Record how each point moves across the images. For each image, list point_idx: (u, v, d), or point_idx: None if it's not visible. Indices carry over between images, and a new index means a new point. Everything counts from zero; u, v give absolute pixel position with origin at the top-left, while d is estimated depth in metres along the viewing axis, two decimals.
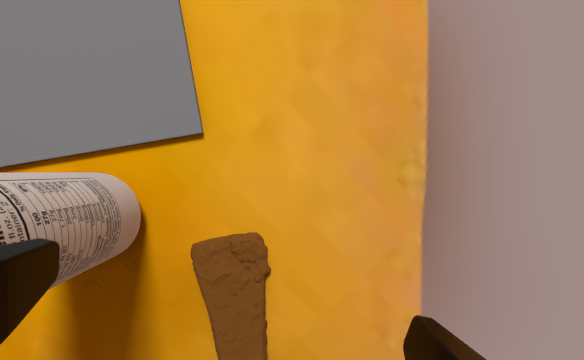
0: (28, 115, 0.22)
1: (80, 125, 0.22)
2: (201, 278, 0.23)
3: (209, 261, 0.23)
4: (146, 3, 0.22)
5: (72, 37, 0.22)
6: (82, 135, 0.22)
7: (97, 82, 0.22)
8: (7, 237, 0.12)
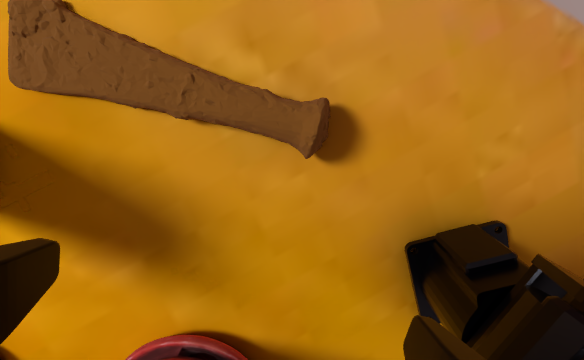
0: None
1: None
2: (44, 85, 0.19)
3: (28, 68, 0.19)
4: None
5: None
6: None
7: None
8: None
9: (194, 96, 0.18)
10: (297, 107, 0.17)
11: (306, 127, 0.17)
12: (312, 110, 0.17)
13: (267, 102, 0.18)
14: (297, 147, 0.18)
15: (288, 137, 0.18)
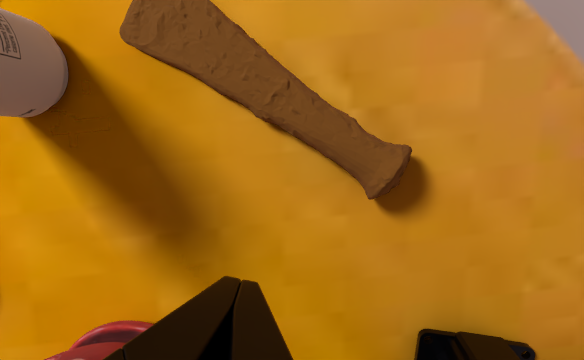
0: None
1: None
2: (148, 47, 0.19)
3: (140, 27, 0.19)
4: None
5: None
6: None
7: None
8: None
9: (282, 101, 0.18)
10: (380, 145, 0.17)
11: (384, 168, 0.16)
12: (394, 154, 0.16)
13: (352, 131, 0.17)
14: (364, 184, 0.18)
15: (360, 172, 0.17)
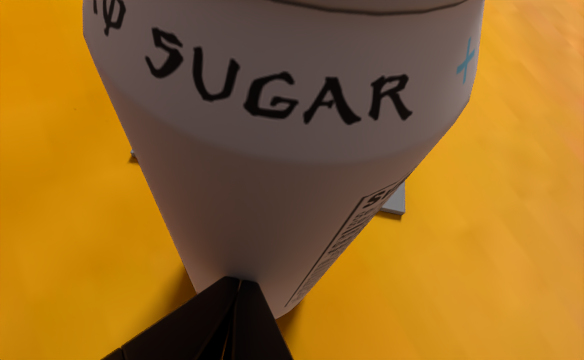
0: None
1: None
2: None
3: None
4: None
5: None
6: None
7: None
8: None
9: None
10: None
11: None
12: None
13: None
14: None
15: None
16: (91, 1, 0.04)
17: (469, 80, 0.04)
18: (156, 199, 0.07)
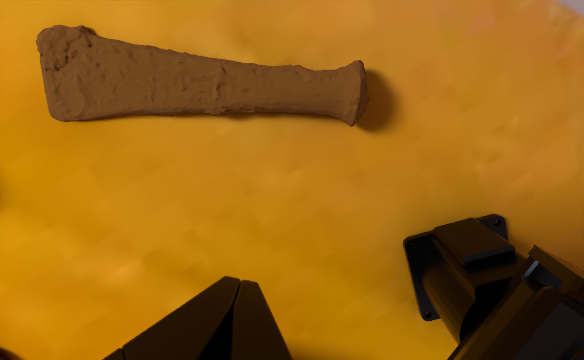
0: None
1: None
2: (84, 113, 0.19)
3: (66, 99, 0.19)
4: None
5: None
6: None
7: None
8: None
9: (229, 88, 0.18)
10: (334, 74, 0.17)
11: (348, 91, 0.17)
12: (349, 74, 0.17)
13: (302, 77, 0.17)
14: (340, 116, 0.18)
15: (330, 107, 0.17)
16: None
17: None
18: None
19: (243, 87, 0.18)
